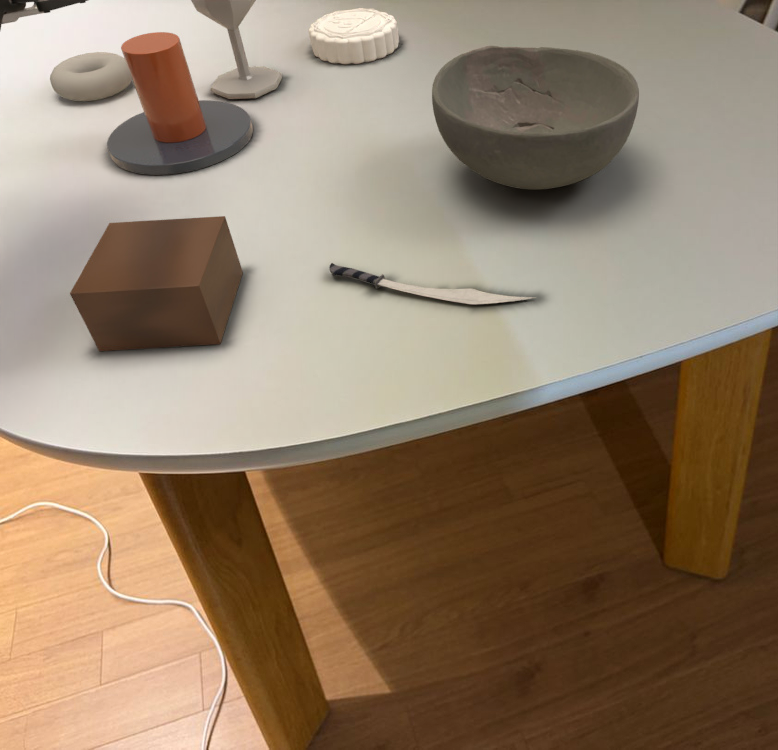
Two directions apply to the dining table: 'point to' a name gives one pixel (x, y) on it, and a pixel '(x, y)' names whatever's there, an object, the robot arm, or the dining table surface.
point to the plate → (153, 157)
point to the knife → (445, 294)
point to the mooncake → (354, 36)
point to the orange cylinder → (164, 86)
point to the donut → (90, 76)
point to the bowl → (534, 113)
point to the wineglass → (237, 52)
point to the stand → (159, 284)
